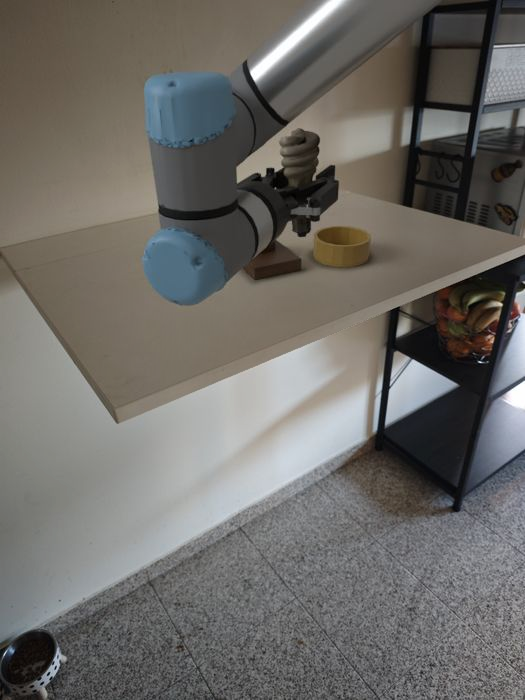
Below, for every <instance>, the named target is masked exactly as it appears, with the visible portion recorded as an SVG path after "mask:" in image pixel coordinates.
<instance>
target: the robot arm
mask: <svg viewBox="0 0 525 700" xmlns="http://www.w3.org/2000/svg"><path fill="white" fill-rule="evenodd" d="M441 2H443V0H307V2H305V3H303V5H302V6H301V7H300V8H298V10H297V11H296V12H295V13H294V14H292V16H291V17H289V18H288V20H286V21H285V22H284V23H283V24H282V25H281V26H280V27H279V28H278V29H276V30H275V32H274V33H272V34H271V35H270V36H269V37H268V38H267V39H266V40H265V41H264V42H263V43H262V44H261V45H259V46H258V48H256V49H255V51H253V52H252V53H251V54H250V55H249V56H248V57H247V58H246V59H245V60H244V61H243V62H242V63H240V64H239V65H238V66H237V67H236V68H235V69H234V70H233V71H232V72H230V73H229V74H228V75H225V74H224V73H221V72H217V71H180V72H179V71H175V72H170V73H159V74H155V75H153V76H151V77H148V79H147V80H146V82H145V84H144V87H143V98H144V99H143V100H144V109H145V110H144V111H145V120H144V124H145V125H144V128H145V132H146V134H147V140H148V146H149V147H148V148H149V153H150V159H151V166H152V172H153V181H154V186H155V192H156V193H155V194H156V200H157V205H158V209H157V213H158V221H159V227H160V230H158V231H157V232H155V233H154V235H153V236H152V237H151V238H150V239H149V240H148V241H147V242H146V244H145V247H144V249H143V255H142V256H141V257H142V258H141V259H142V262H141V263H142V268H143V272H144V275H145V277H146V279H147V281H148V284H150V286H151V287H152V289H153V290H154V291H155V292H156V293H157V294H158V295H159V296H161V297H162V298H163V299H164V300H167V301H168V302H170V303H173V304H175V305H178V306H185V307H188V306H190V307H191V306H194V305H195V306H196V305H198V304H200V303H203V302H204V301H205V300H206V299H208V298H210V297H211V296H212V295H214V294H215V293H218V292H219V291H222V290H223V288H224V287H225V286H226V284H227V283H228V282H229V281H230V280H231V279H232V278H233V277H234V276H236V275H237V274H238V273H239V272H240V271H241V270H242V269H243V267H244V266H245V265H246V264H248V263H249V262H250V261H251V260H252V259H253V258H255V257H256V256H257V255H258V254H259V253H260V252H261V251H263V250H264V249H265V248H266V247H268V246H269V245H270V244H271V243H272V242H273V241H275V240H277V239H279V237H280V236H281V235H283V232H284V231H285V229H286V226H287V225H288V223H289V222H292V220H295V219H296V218H297V217H298V215H306V217H307V218H310V221H311V223H312V222H313V223H317V222H320V221H321V215H323V214H324V213H325V212H326V211H327V210H328V209H329V208H330V207H332V206H333V205H334V204H335V203H336V202H337V201H338V200H339V189H340V181H339V180H338V179H336V165H335V164H329V165H328V166H327V167H326V168H324V169H323V170H322V171H320V172H319V173H317V174H316V175H315V179H313V181H311V182H309V183H306V184H304V185H301V186H299V187H293V186H288V187H286V188H284V187H285V186H287V185H288V184H289V181H288V178H287V177H286V176H285V175H284V170H285V168H284V167H283V166H282V168H280V169H278V170H277V171H275V170H276V169H275V167H266V168H265V175H264V176H262V173H260V172H254V173H251V175H248V176H247V177H245V178H244V179H242V180H241V181H239V182H238V172H237V168H238V167H239V166H240V165H241V164H243V163H244V161H246V160H247V159H248V158H249V157H250V156H251V155H252V154H254V153H256V152H257V151H258V150H260V149H261V148H263V146H265V144H266V143H268V142H269V141H270V140H271V139H272V138H274V137H275V136H276V135H277V134H278V133H280V132H281V131H282V130H284V129H285V128H286V127H287V126H288V125H289V124H290V123H292V122H293V121H294V120H295V119H297V117H299V116H300V115H302V114H303V113H304V112H305V111H306V110H308V109H309V108H310V107H311V106H313V105H314V104H315V103H316V102H318V101H319V100H320V99H321V98H323V97H324V96H325V95H326V94H328V93H329V92H330V91H331V90H333V89H334V88H335V87H336V86H338V85H339V84H340V83H342V82H343V81H344V80H345V79H346V78H348V77H349V76H350V75H351V74H352V73H354V72H355V71H356V70H358V69H359V68H360V67H362V65H364V64H365V63H367V62H368V61H369V60H370V59H371V58H373V57H374V56H375V55H376V54H378V52H380V51H381V50H383V49H384V48H385V47H386V46H387V45H389V44H390V43H391V42H392V41H394V40H395V39H397V37H399V36H401V34H403V33H404V32H405V31H406V30H408V29H409V28H410V27H411V26H413V25H414V24H415V23H416V22H417V21H419V20H420V19H421V18H423V17H424V16H425V15H426V14H428V13H429V12H430V11H432V10H433V9H434V8H435V7H437V6H438V5H439V4H440V3H441Z"/></svg>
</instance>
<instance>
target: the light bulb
mask: <svg viewBox="0 0 525 700" xmlns="http://www.w3.org/2000/svg"><path fill="white" fill-rule="evenodd" d="M290 133H291V134H290V135H289V136H282V137H280V138H279V140H278V144H279V146H280V147H281V148H280V149H279V155H280V156H281V157H282V160H281V161H280V164H281V166H282V168H283V167H284V168H285V170H284V175H285V176H286V177H287V178H288V181H289V184H288V185H287V186H285V187H284V188H286V187H288V186H293V187H299V186H301V185H304V184H306V183H309V182H311V181H314V179H313V178H314V175H315V174H316V172H317V167H318V166H319V163H320V160H319V158H318V156H319V155H320V151H321V150H320V146H319V145H320V143H321V137H320V136H319V134H317V133H316V132H313V131H310V130H304V129H303V128H300V127H298V128H296V129H294V130H292V131H291V132H290ZM291 226H292V227H291V228H292V230H291V231H292V232H293V233H296V234H297V237H298V238H306V237H307V235H308V234H310V233H311V231H312V221H310V218H307V217H306V215H298V217H297V218H296V219H295V220H292V221H291Z"/></svg>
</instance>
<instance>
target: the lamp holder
mask: <svg viewBox="0 0 525 700" xmlns="http://www.w3.org/2000/svg"><path fill="white" fill-rule="evenodd" d="M371 242H372V236H371V234H370V233H369V232H368V231H367V230H365V229H362V228H360V227H356V226H350V225H349V226H346V225H331V226H325V227H322V228H320V229H318V230H316V231H315V232H314V233H313V249H312V250H313V252H312V254H313V255H312V256H313V259H314V260H315V261H316V262H318V263H319V264H322V265H325V266H328V267H333V268H353V267H358V266H361V265H364V264H365V263H366V262H367V261H369V256H370V252H371Z"/></svg>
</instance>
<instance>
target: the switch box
mask: <svg viewBox="0 0 525 700" xmlns="http://www.w3.org/2000/svg"><path fill="white" fill-rule="evenodd" d="M242 269H243V270H244V271H245V272H246V273H247V275H249V276H250V277H251V278H252V279H253V280H254V281H257V280H262V279H266V278H271V277H275V276H279V275H285V274H288V273H293V272H297V271H302V257H301V256H299V255H297V254H296V253H294V251H292V250H291V249H289V248H288V247H286V246H285V245H284V244H283V243H281V242H280V241H278V240H277V239H276V240H275V241H273V242H272V243H271V244H270V245H269V246H268V247H266V248H265V249H264V250H263V251H261V252H260V253H259V254H258V255H257V256H256V257H255V258H253V259H252V260H251V261H250V262H249V263H248V264H246V265H245V266H244V267H243V268H242Z"/></svg>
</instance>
